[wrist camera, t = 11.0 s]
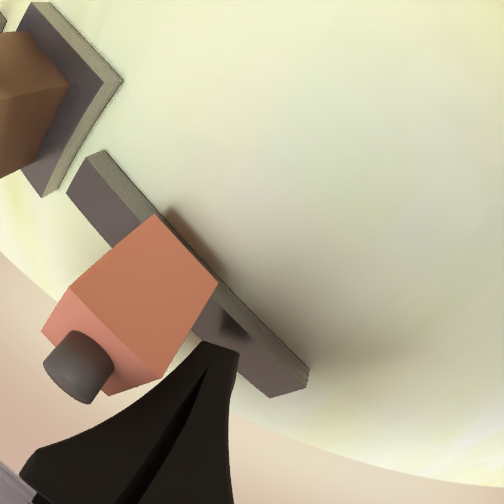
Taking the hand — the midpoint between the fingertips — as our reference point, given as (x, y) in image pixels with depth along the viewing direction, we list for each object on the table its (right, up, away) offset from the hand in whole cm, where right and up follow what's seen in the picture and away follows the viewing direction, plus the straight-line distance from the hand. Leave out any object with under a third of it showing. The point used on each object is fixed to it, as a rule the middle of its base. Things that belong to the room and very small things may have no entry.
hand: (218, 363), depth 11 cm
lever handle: (-2, +3, 0) cm, 4 cm away
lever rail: (-1, +3, +1) cm, 3 cm away
